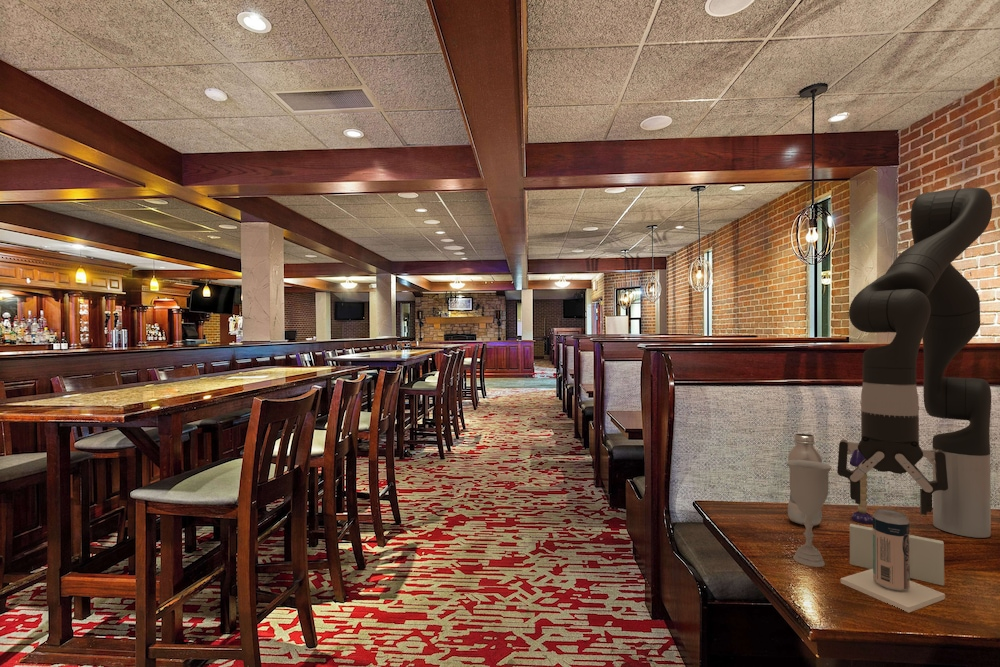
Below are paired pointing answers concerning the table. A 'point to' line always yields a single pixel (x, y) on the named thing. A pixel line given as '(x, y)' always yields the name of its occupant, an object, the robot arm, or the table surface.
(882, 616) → the table surface
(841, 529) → the table surface
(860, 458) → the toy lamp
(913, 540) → the partition
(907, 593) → the tile
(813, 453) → the plastic bottle
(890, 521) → the beer can
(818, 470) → the chalice
